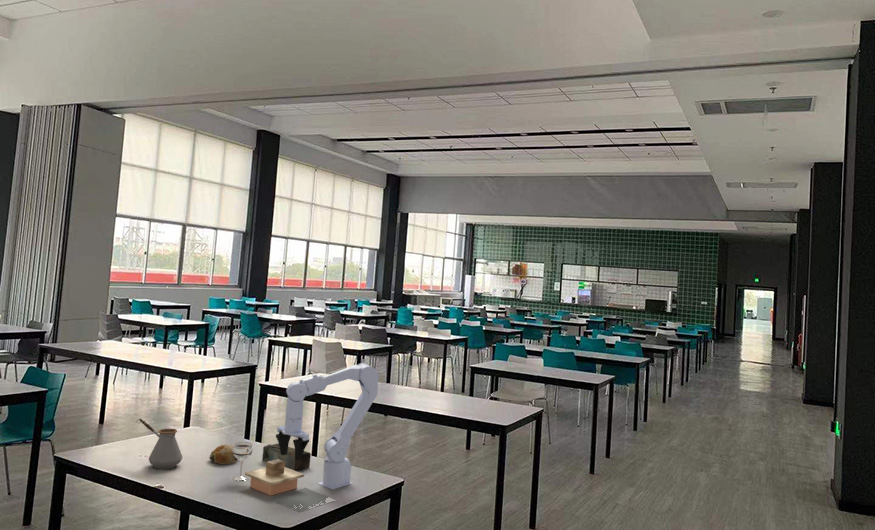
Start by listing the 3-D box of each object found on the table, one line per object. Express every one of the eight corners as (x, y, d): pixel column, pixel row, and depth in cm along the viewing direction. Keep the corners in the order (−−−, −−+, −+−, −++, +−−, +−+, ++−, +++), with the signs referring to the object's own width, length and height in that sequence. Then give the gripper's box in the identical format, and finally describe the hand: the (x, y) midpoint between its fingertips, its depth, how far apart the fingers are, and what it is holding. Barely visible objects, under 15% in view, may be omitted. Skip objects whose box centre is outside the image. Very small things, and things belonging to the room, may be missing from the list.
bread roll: (226, 475, 239) (237, 456, 239) (203, 461, 239) (213, 443, 239) (235, 467, 248) (245, 449, 248) (213, 454, 249) (223, 436, 249)
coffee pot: (188, 465, 236) (191, 424, 236) (163, 472, 225) (166, 430, 226) (148, 454, 245) (151, 415, 245) (122, 461, 235) (125, 420, 235)
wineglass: (254, 477, 227) (256, 443, 227) (243, 482, 220) (246, 448, 221) (237, 474, 229) (240, 441, 229) (226, 479, 222) (229, 445, 222)
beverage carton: (277, 457, 253) (278, 441, 253) (310, 468, 242) (312, 451, 242) (261, 461, 247) (262, 444, 247) (295, 473, 236) (296, 455, 236)
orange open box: (276, 481, 224) (277, 468, 224) (296, 489, 217) (297, 476, 217) (250, 488, 215) (251, 475, 215) (270, 497, 209) (271, 483, 209)
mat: (305, 489, 218) (305, 487, 218) (337, 501, 209) (337, 500, 209) (267, 500, 206) (267, 498, 206) (299, 513, 196) (299, 512, 196)
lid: (278, 467, 226) (279, 453, 226) (304, 476, 218) (305, 462, 218) (244, 474, 215) (245, 460, 215) (270, 485, 207) (271, 470, 207)
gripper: (271, 415, 221) (268, 454, 221) (298, 423, 212) (295, 464, 212) (287, 412, 226) (284, 450, 226) (314, 420, 217) (311, 460, 217)
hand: (290, 457), depth 219 cm, fingers open, 7 cm apart
